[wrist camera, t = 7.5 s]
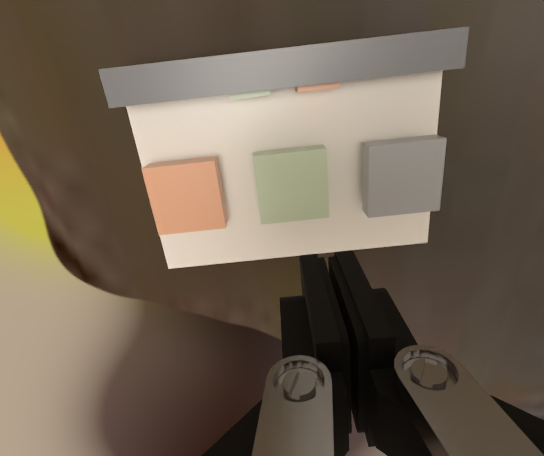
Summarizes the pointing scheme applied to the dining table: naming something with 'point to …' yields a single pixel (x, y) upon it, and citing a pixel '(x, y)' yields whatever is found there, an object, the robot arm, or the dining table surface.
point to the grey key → (402, 175)
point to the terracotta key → (186, 195)
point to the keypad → (289, 132)
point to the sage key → (292, 184)
